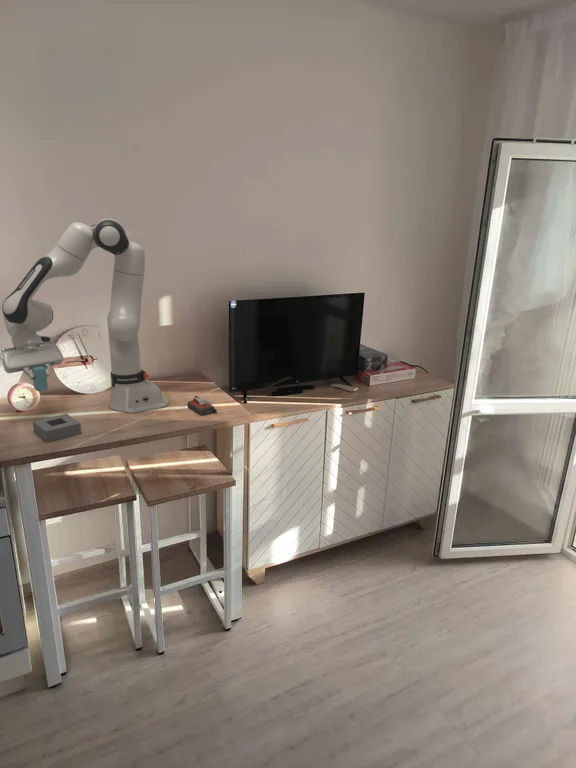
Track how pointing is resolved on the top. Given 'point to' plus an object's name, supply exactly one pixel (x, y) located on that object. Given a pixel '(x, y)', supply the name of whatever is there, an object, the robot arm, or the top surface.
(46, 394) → the top surface
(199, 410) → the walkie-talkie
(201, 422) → the top surface
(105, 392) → the top surface
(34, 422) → the socket
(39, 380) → the plug
